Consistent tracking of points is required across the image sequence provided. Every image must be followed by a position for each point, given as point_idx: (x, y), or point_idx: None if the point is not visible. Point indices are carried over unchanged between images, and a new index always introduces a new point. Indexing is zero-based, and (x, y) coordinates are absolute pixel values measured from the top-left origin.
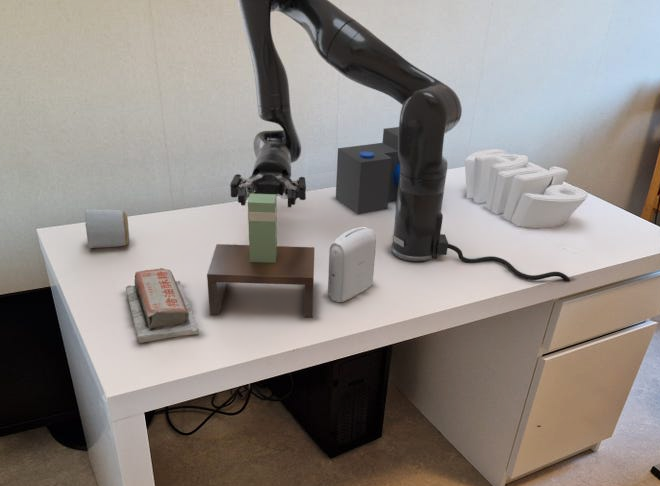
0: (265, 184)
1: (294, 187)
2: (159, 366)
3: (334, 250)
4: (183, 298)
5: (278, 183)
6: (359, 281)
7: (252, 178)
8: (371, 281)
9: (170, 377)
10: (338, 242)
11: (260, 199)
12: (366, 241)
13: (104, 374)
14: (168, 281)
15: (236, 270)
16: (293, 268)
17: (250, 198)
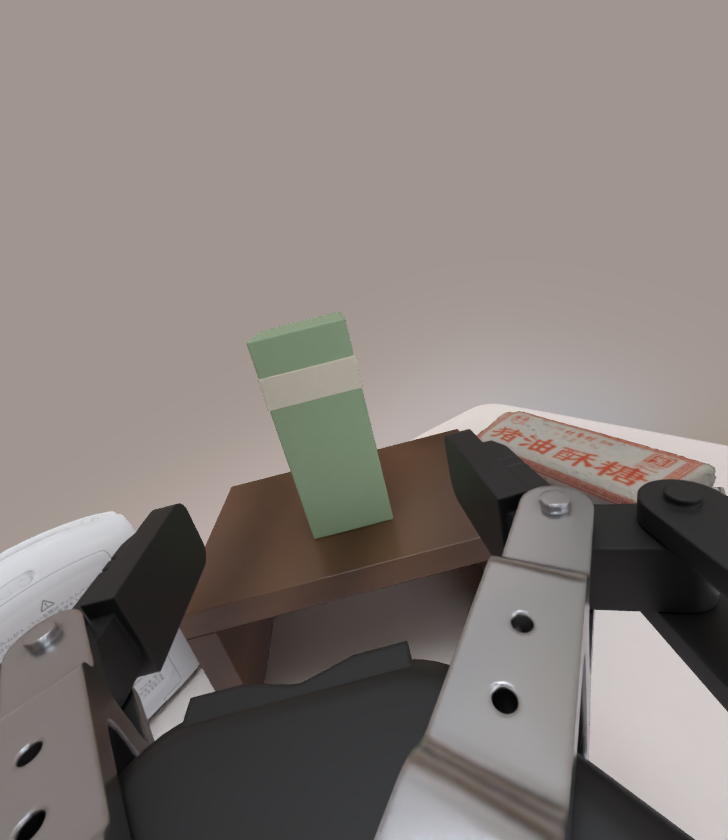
0: (342, 665)
1: (26, 647)
2: (466, 428)
3: (134, 527)
4: None
5: (151, 745)
6: None
7: (551, 636)
8: None
9: (442, 425)
10: (109, 515)
11: (303, 322)
12: None
13: (516, 407)
14: (580, 465)
15: (402, 453)
16: (270, 497)
17: (336, 315)
